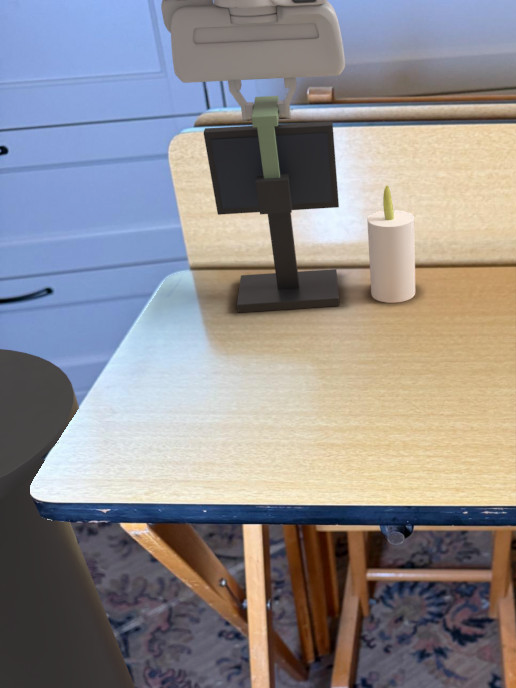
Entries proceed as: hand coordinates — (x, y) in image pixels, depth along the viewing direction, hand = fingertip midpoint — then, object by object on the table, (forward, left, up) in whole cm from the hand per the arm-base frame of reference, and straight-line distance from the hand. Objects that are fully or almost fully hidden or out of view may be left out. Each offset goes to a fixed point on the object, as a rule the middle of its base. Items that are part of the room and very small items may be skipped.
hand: (267, 119), depth 99 cm
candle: (+15, -2, -23) cm, 27 cm away
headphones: (0, 0, -10) cm, 10 cm away
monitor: (0, 0, -23) cm, 23 cm away
